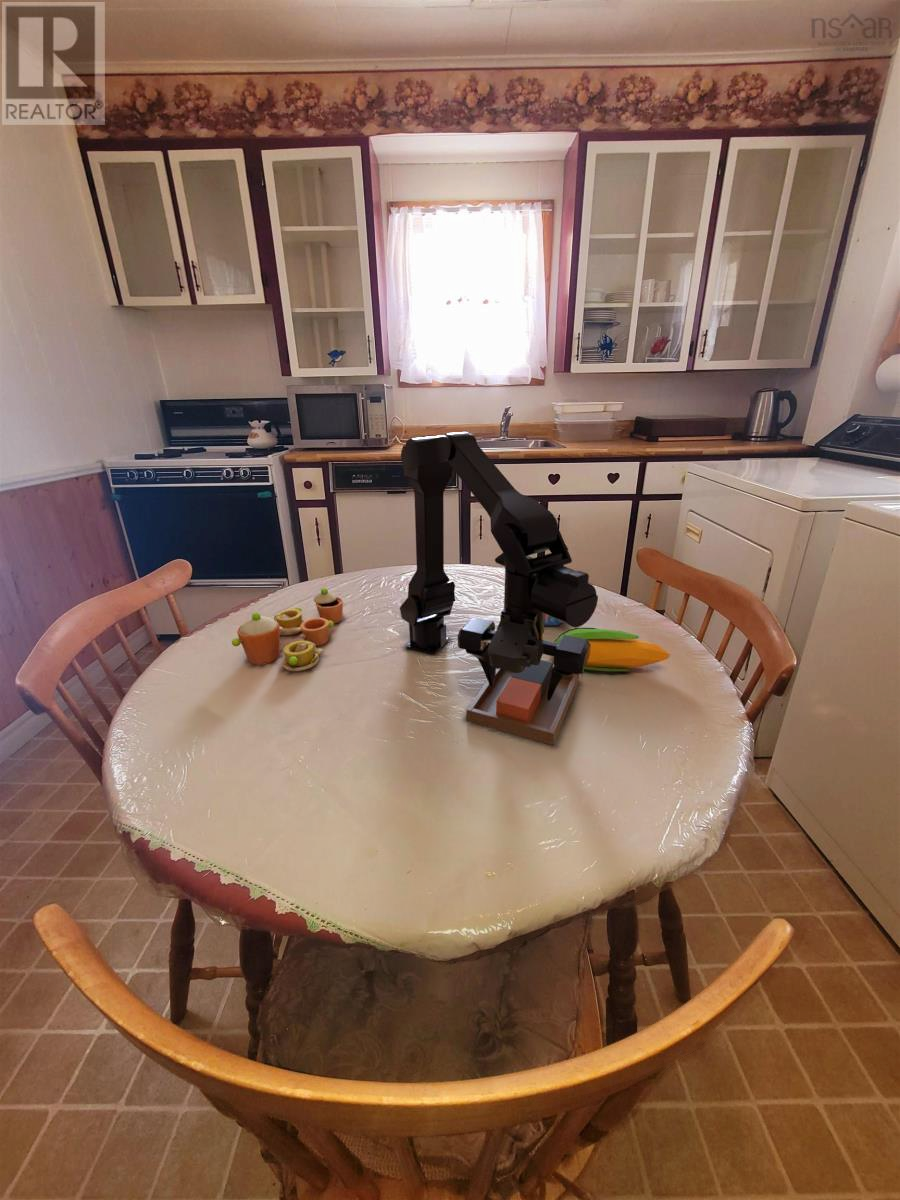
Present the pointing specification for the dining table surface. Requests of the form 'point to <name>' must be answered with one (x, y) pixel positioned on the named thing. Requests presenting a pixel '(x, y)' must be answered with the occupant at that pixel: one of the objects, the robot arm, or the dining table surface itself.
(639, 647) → the corn
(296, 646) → the toy tea set
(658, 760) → the dining table surface
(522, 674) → the dark grey rectangular block
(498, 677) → the tray
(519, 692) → the orange red rectangular block
